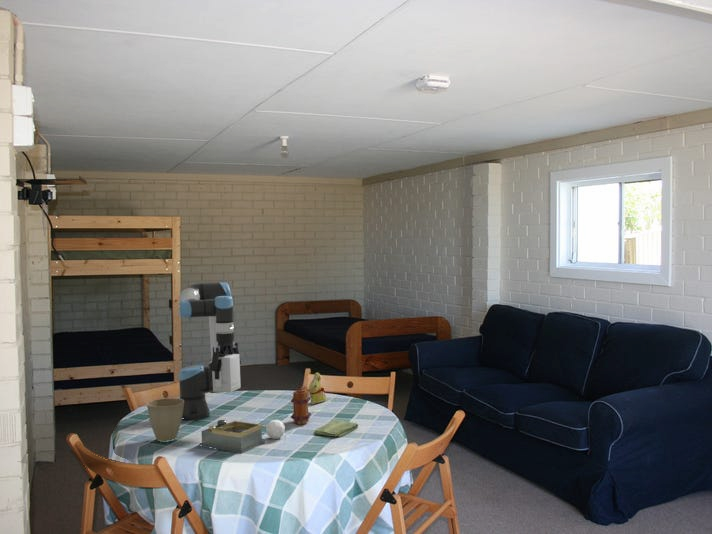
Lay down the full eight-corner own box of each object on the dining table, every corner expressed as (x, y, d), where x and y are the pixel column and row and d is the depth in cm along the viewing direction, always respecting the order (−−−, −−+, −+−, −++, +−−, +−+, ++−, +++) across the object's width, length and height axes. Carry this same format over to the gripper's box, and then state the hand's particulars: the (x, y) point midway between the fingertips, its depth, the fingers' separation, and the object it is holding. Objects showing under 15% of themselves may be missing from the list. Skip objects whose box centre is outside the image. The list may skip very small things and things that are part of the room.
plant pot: (165, 447, 272) (164, 408, 271) (140, 442, 280) (138, 404, 279) (193, 437, 285) (191, 400, 284) (168, 433, 293) (166, 396, 292)
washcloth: (312, 435, 285) (311, 428, 285) (335, 425, 300) (335, 418, 300) (338, 439, 278) (337, 432, 278) (360, 429, 293) (360, 421, 293)
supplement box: (241, 388, 295) (240, 353, 295) (231, 392, 287) (229, 357, 286) (223, 386, 298) (221, 353, 298) (212, 391, 290) (211, 356, 289)
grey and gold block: (199, 446, 273) (198, 426, 272) (223, 436, 285) (222, 417, 285) (241, 453, 262) (241, 432, 262) (264, 443, 275) (264, 423, 274)
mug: (307, 426, 298) (306, 392, 297) (289, 425, 299) (288, 391, 298) (315, 417, 312) (314, 384, 311) (298, 416, 314) (297, 384, 313)
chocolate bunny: (305, 404, 337) (305, 374, 337) (321, 399, 346) (320, 370, 345) (315, 406, 333) (314, 375, 332) (331, 401, 341) (330, 371, 340)
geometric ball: (274, 443, 283) (277, 425, 288) (287, 439, 278) (290, 421, 283) (260, 437, 279) (263, 419, 283) (273, 433, 274) (276, 415, 278)
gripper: (214, 336, 280) (216, 390, 281) (248, 329, 299) (249, 379, 300) (200, 335, 283) (202, 388, 285) (234, 328, 303) (236, 378, 304)
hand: (226, 384), depth 292 cm, fingers closed on supplement box, 10 cm apart
